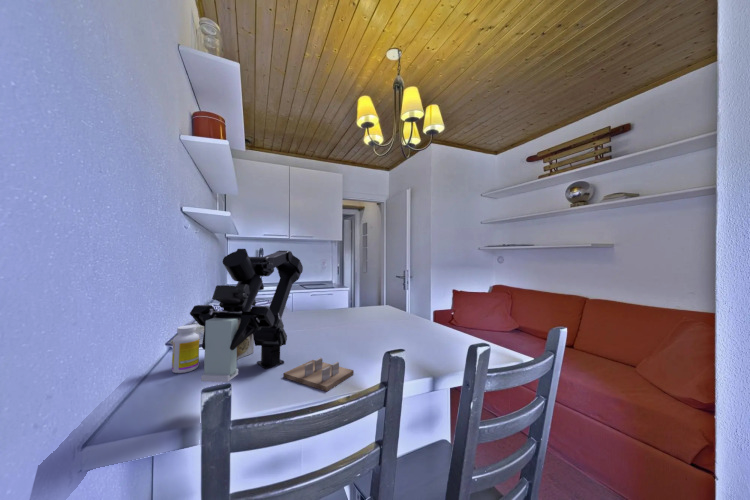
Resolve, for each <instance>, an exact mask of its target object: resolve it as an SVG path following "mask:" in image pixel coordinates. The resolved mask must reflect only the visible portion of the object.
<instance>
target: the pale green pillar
mask: <svg viewBox="0 0 750 500" xmlns="http://www.w3.org/2000/svg"><path fill="white" fill-rule="evenodd" d="M237 326H238V319H222V318H212V319H209V320H206V325H205V350H204V363H203V368H204V369H203V373H202V375H201V376H200V377H201V382H213V383H214V382H216V383H217V382H218V383H220V382H221V383H229V382H230V381H231V380H233V379H234V378H235V377H236V376H238V375H239V368H237V362H238V361H237V360H238V359H237V347H236V348H235V349H234V350H231V349H230V346H231V343H232V340H233V338H234V336H235V334H236V332H237Z"/></svg>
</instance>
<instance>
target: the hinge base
mask: <svg viewBox="0 0 750 500" xmlns="http://www.w3.org/2000/svg"><path fill="white" fill-rule="evenodd" d="M354 374H355V373H354V369H350V368H347V367H343V366H340V362H339V361H336V362H334V363H327V362H324V361H323V357H320V358H317V359H311V360H309V361H307V362H305V363H303V364H300V365H298V366H296V367H294V368H292V369H289V370H287V371H285V372H283V377H282V378H285V379H287V380H290V381H293V382H297V383H300V384H302V385H305V386H308V387H312V388H314V389H318V390H321V391H323V392H328V391H330V390H331V389H333V388H335V387H336V386H338V385H340V384H341V383H342V382H344V381H346V380H347V379H349V378H350V377H352V376H353V375H354Z"/></svg>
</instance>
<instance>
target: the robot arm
mask: <svg viewBox="0 0 750 500" xmlns="http://www.w3.org/2000/svg"><path fill="white" fill-rule="evenodd" d="M222 264H223V266H224V268H225V269H226V271H227V273H228V275H229V276H230V277H231V279H232V281H234V282H237V284H236V285H224V284H222V285H219V284H218V285H217V284H216V286H215V288H214V291H213V294H212V298H211V299H212V301H213V300H214V301H217V302H219V304H218V306H219V307H220V308H221V309H222V308H223V310H216V309H215V308H214V307H213V305H212V304H196V305H194V306H193V307H192V309H191V310H190V312H189V315H190V316H191V317H192V318H193V319H194V320H195V322H196V323H197V324H198V325H199V326H200V327H203V336H202V342H201V343H202V344H201V348H202V349H203V351H205V325H206V320H209V319H212V318H222V319H238V320H241V322H240V326H239V328H238V330H237V332H236V334H235V336H234V338H233V340H232V343H231V346H230V349H231V350H234V349H235V348H236V347H237V346H238V345H240V344H241V343H242V342H243V341H244V340H245V339H246V338H247V337H249V336H250V335H251V334H253V337H254V347H257V346H258V347H259V346H260V347H261V349H260V355H261V357H260V360H258V361H256V364H257V365H258V366H260V367H262V368H264V369H269V368H272V367H275V366H279V365H283V364H285V361H284V360H283V359H281V347H282V346H285V345H286V344H287V340H288V335H287V333H286V331H285V329H284V327H285V326H284V322H283V319H282V318H283V316H284V311H285V308H286V305H287V302H288V299H289V296H290V293H291V289H292V287H293V284H294V283H295V282H297V281H298V280H299V279H300V277H301V275H302V273H303V271H304V270H303V269H304V267H303V264H302V262H301V260H300V259H299V258H298V257H297V256H295V255H294V254H293V253H292V251H290V250H278V251H275V252H273V253H270V254H267V255H265V256H249V255H248V251H247V249H246V248H237V250H236V251H234V252H233V251H232V252H230V253H228V254H227V255H225V256H224V257H223V259H222ZM275 269H276V270H277V273H278V276H279V280H278V283H277V286H276V288H275V290H274V291H275V292H274V294H273V296H272V300H271V301H270V304H269V306H268V305H256V304H257V301H256V298H257V296H258V293H259V291H263V290H264V289H265V288H264V287H265V286H264V284H263V283H264V282H263V280H262V278H261V277H269V276H271V275H272V274H273V273H274V272H275ZM250 309H251V312H249V311H250Z"/></svg>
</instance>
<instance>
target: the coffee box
mask: <svg viewBox="0 0 750 500" xmlns="http://www.w3.org/2000/svg"><path fill="white" fill-rule="evenodd" d="M249 312H251V309H250V311H249ZM240 322H241V320H238V326H237V330H238V328H239V326H240ZM254 348H255V343H254V337H253V334H251V335H250V336H249V337H247V338H246V339H245V340H244V341H243V342H242V343H241V344H240V345H238V346H237V360H239V359H242V358H244V357H246V356H249V355H251V354H254V352H255V350H254Z"/></svg>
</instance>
